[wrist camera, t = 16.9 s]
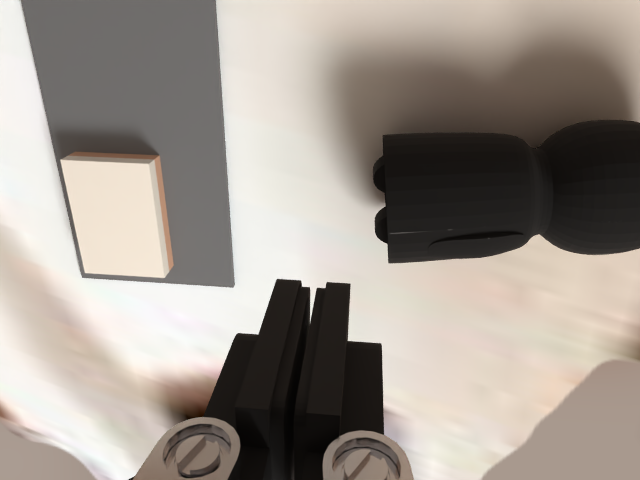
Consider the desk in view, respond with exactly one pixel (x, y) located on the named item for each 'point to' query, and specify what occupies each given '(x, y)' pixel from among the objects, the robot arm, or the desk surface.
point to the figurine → (509, 192)
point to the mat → (143, 111)
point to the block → (119, 213)
